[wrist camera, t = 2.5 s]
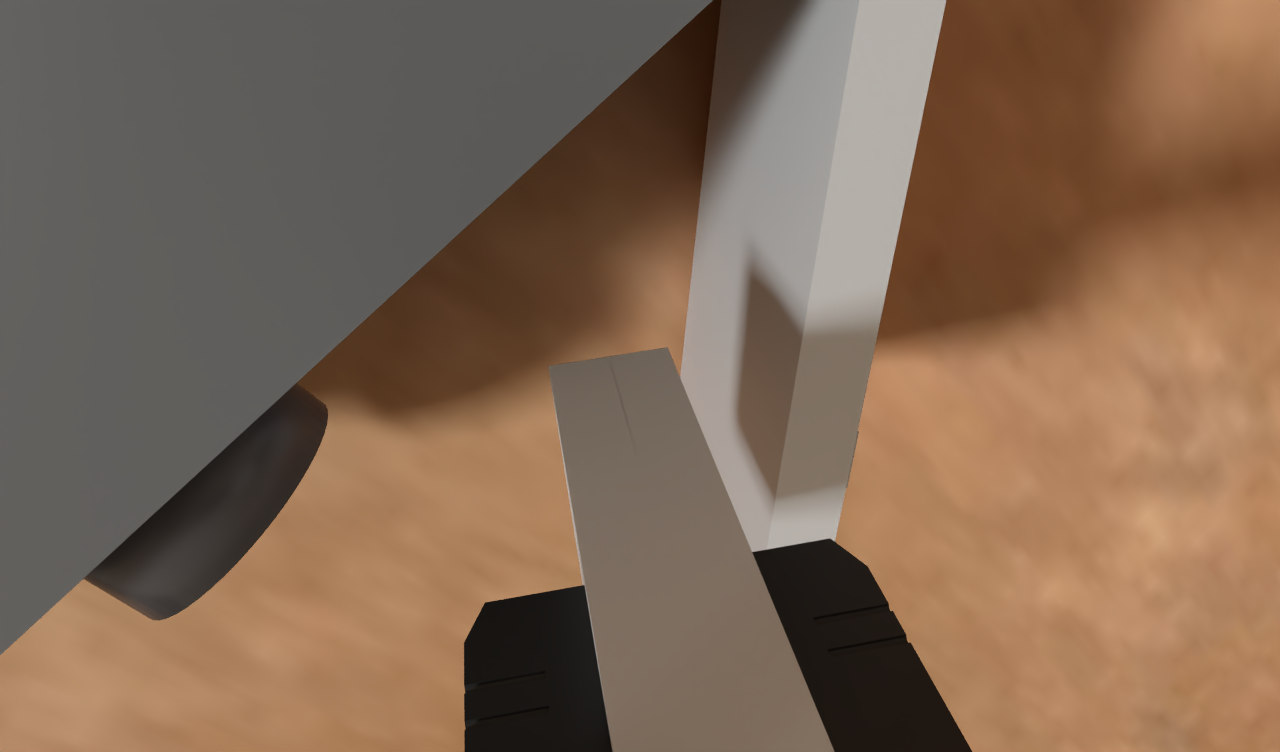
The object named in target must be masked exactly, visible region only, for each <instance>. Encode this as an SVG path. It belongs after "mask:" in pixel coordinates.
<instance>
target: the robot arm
mask: <svg viewBox="0 0 1280 752" xmlns="http://www.w3.org/2000/svg"><path fill="white" fill-rule="evenodd" d="M548 367H549V373H550V380H551V386H552V392H553V399H554V405H555V412H556V418H557V424H558V431H559V437H560V444H561V450H562V456H563V463H564V469H565V476H566V482H567V488H568V495H569V501H570V508H571V514H572V520H573V527H574V533H575V540H576V546H577V552H578V558H579V564H580V570H581V576H582V582H583V585H582V586H577V587H571V588H565V589H560V590H554V591H549V592H543V593H537V594H532V595H526V596H520V597H515V598H509V599H503V600H498V601H492V602H487V603H485V604H484V606H483V608H482V610H481V612H480V613H479V615H478V617H477V619H476V621H475V623H474V625H473V627H472V629H471V631H470V633H469V635H468V636H467V638H466V640H465V642H464V686H465V694H464V709H465V727H466V730H465V752H972V750H971V749H970V747H969V745H968V743H967V742H966V740H965V738H964V736H963V735H962V733H961V731H960V729H959V727H958V726H957V724H956V722H955V720H954V719H953V717H952V715H951V713H950V712H949V710H948V708H947V706H946V704H945V703H944V701H943V699H942V697H941V696H940V694H939V692H938V690H937V689H936V687H935V685H934V683H933V681H932V680H931V678H930V676H929V674H928V673H927V671H926V669H925V667H924V666H923V664H922V662H921V660H920V658H919V657H918V655H917V653H916V651H915V650H914V648H913V646H912V644H911V643H908V642H907V638H906V634H905V632H904V630H903V628H902V627H901V625H900V623H899V621H898V619H897V618H896V616H895V614H894V612H893V611H890V609H889V604H888V602H887V600H886V598H885V596H884V595H883V593H882V591H881V589H880V588H879V586H878V584H877V582H876V581H875V579H874V577H873V575H872V573H871V572H870V570H869V568H868V566H866V565H865V564H864V563H862V562H861V561H860V560H858V559H857V558H856V557H854V556H853V555H852V554H850V553H849V552H848V551H846V550H845V549H844V548H842V547H841V546H840V545H838V544H837V543H836V542H834V541H833V540H832V539H830V538H829V539H823V540H818V541H812V542H806V543H801V544H795V545H790V546H784V547H778V548H773V549H767V550H761V551H756V552H752V551H751V548H750V546H749V543H748V541H747V539H746V536H745V534H744V531H743V529H742V527H741V524H740V522H739V519H738V517H737V514H736V512H735V510H734V507H733V505H732V502H731V500H730V497H729V495H728V493H727V490H726V488H725V485H724V483H723V480H722V478H721V476H720V473H719V471H718V468H717V466H716V464H715V461H714V459H713V456H712V454H711V451H710V449H709V447H708V444H707V442H706V439H705V437H704V434H703V432H702V430H701V427H700V425H699V422H698V420H697V417H696V415H695V413H694V410H693V408H692V405H691V403H690V400H689V398H688V396H687V393H686V391H685V388H684V386H683V384H682V381H681V379H680V376H679V374H678V371H677V369H676V367H675V364H674V362H673V359H672V357H671V354H670V352H669V350H668V347H667V348H660V349H654V350H647V351H641V352H635V353H628V354H622V355H615V356H609V357H603V358H596V359H590V360H584V361H577V362H571V363H564V364H558V365H552V366H548Z"/></svg>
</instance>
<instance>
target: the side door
mask: <svg viewBox="0 0 1280 752" xmlns="http://www.w3.org/2000/svg"><path fill="white" fill-rule="evenodd" d="M945 4H946V0H722V2H721V11H720V20H719V29H718V38H717V47H716V57H715V66H714V75H713V84H712V93H711V102H710V111H709V120H708V129H707V139H706V148H705V157H704V166H703V175H702V184H701V193H700V202H699V212H698V221H697V230H696V239H695V248H694V257H693V266H692V275H691V284H690V294H689V303H688V312H687V321H686V330H685V339H684V348H683V357H682V366H681V376H680V379H681V381H682V384H683V386H684V388H685V391H686V393H687V396H688V398H689V400H690V403H691V405H692V408H693V410H694V413H695V415H696V417H697V420H698V422H699V425H700V427H701V430H702V432H703V434H704V437H705V439H706V442H707V444H708V447H709V449H710V451H711V454H712V456H713V459H714V461H715V464H716V466H717V468H718V471H719V473H720V476H721V478H722V480H723V483H724V485H725V488H726V490H727V493H728V495H729V497H730V500H731V502H732V505H733V507H734V510H735V512H736V514H737V517H738V519H739V522H740V524H741V527H742V529H743V531H744V534H745V536H746V539H747V541H748V543H749V546H750V548H751V551H752V552H756V551H761V550H767V549H773V548H778V547H784V546H790V545H795V544H801V543H806V542H812V541H818V540H823V539H829V538H830V539H832V540H833V541H834V542H835V538H836V534H837V529H838V524H839V519H840V514H841V509H842V504H843V500H844V495H845V490H846V488H847V486H848V481H849V476H850V472H851V467H852V462H853V457H854V452H855V447H856V443H857V438H858V433H859V432H858V427H859V422H860V417H861V412H862V407H863V402H864V398H865V393H866V388H867V383H868V378H869V373H870V369H871V364H872V359H873V354H874V349H875V344H876V339H877V335H878V330H879V325H880V320H881V315H882V310H883V305H884V301H885V296H886V291H887V286H888V281H889V276H890V271H891V267H892V262H893V257H894V252H895V247H896V242H897V237H898V233H899V228H900V223H901V218H902V213H903V208H904V203H905V199H906V194H907V189H908V184H909V179H910V174H911V169H912V165H913V160H914V155H915V150H916V145H917V140H918V135H919V131H920V126H921V121H922V116H923V111H924V106H925V101H926V97H927V92H928V87H929V82H930V77H931V72H932V67H933V63H934V58H935V53H936V48H937V43H938V38H939V33H940V29H941V24H942V19H943V14H944V9H945Z"/></svg>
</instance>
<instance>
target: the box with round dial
mask: <svg viewBox="0 0 1280 752" xmlns="http://www.w3.org/2000/svg"><path fill="white" fill-rule="evenodd" d="M712 1H713V0H0V655H1V654H2V653H3V652H4V651H5V650H6V649H7V648H8V647H9V646H11V645H12V644H13V643H14V642H15V641H16V640H17V639H18V638H19V637H20V636H21V635H23V634H24V633H25V632H26V631H27V630H28V629H29V628H30V627H31V626H32V625H33V624H34V623H36V622H37V621H38V620H39V619H40V618H41V617H42V616H43V615H44V614H45V613H46V612H48V611H49V610H50V609H51V608H52V607H53V606H54V605H55V604H56V603H57V602H58V601H60V600H61V599H62V598H63V597H64V596H65V595H66V594H67V593H68V592H69V591H70V590H71V589H73V588H74V587H75V586H76V585H77V584H78V583H79V582H80V581H81V580H82V579H85V580H86V581H88V582H90V583H91V584H93V585H95V586H96V587H98V588H100V589H101V590H103V591H105V592H106V593H108V594H110V595H111V596H113V597H115V598H116V599H118V600H120V601H122V602H123V603H125V604H127V605H128V606H130V607H132V608H133V609H135V610H137V611H138V612H140V613H142V614H143V615H145V616H147V617H148V618H150V619H152V620H162V619H166V618H169V617H171V616H173V615H175V614H177V613H179V612H180V611H182V610H183V609H185V608H187V607H188V606H189V605H191V604H192V603H194V602H195V601H196V600H198V599H199V598H200V597H201V596H202V595H204V594H205V593H206V592H207V591H208V590H210V589H211V588H212V587H213V586H214V585H215V584H216V583H217V582H218V581H219V580H221V579H222V578H223V577H224V576H225V575H226V574H227V573H228V572H229V571H230V570H231V569H232V568H233V567H234V566H235V565H236V564H237V563H238V561H239V560H240V559H241V558H242V557H243V556H244V555H245V554H246V553H247V552H248V550H249V549H250V548H251V547H252V546H253V545H254V543H255V542H256V541H257V540H258V539H259V538H260V536H261V535H262V534H263V533H264V532H265V530H266V529H267V528H268V526H269V525H270V524H271V523H272V521H273V520H274V519H275V518H276V516H277V515H278V513H279V512H280V511H281V509H282V508H283V507H284V505H285V504H286V502H287V501H288V500H289V498H290V497H291V495H292V494H293V492H294V491H295V489H296V488H297V486H298V484H299V483H300V481H301V479H302V478H303V476H304V475H305V473H306V471H307V469H308V468H309V466H310V464H311V462H312V460H313V458H314V456H315V454H316V452H317V450H318V448H319V446H320V444H321V441H322V438H323V436H324V433H325V429H326V426H327V420H328V410H327V407H326V405H325V404H323V403H322V402H321V401H320V400H318V399H317V398H316V397H314V396H313V395H312V394H311V393H309V392H308V391H307V390H305V389H304V388H303V387H302V386H300V385H299V384H298V383H297V382H298V381H299V380H300V379H301V378H302V377H303V376H304V375H306V374H307V373H308V372H309V371H310V370H311V369H312V368H313V367H314V366H315V365H316V364H318V363H319V362H320V361H321V360H322V359H323V358H324V357H325V356H326V355H327V354H328V353H330V352H331V351H332V350H333V349H334V348H335V347H336V346H337V345H338V344H339V343H340V342H341V341H343V340H344V339H345V338H346V337H347V336H348V335H349V334H350V333H351V332H352V331H353V330H355V329H356V328H357V327H358V326H359V325H360V324H361V323H362V322H363V321H364V320H365V319H367V318H368V317H369V316H370V315H371V314H372V313H373V312H374V311H375V310H376V309H377V308H379V307H380V306H381V305H382V304H383V303H384V302H385V301H386V300H387V299H388V298H389V297H390V296H392V295H393V294H394V293H395V292H396V291H397V290H398V289H399V288H400V287H401V286H402V285H404V284H405V283H406V282H407V281H408V280H409V279H410V278H411V277H412V276H413V275H414V274H416V273H417V272H418V271H419V270H420V269H421V268H422V267H423V266H424V265H425V264H426V263H427V262H429V261H430V260H431V259H432V258H433V257H434V256H435V255H436V254H437V253H438V252H439V251H441V250H442V249H443V248H444V247H445V246H446V245H447V244H448V243H449V242H450V241H451V240H453V239H454V238H455V237H456V236H457V235H458V234H459V233H460V232H461V231H462V230H463V229H465V228H466V227H467V226H468V225H469V224H470V223H471V222H472V221H473V220H474V219H475V218H476V217H478V216H479V215H480V214H481V213H482V212H483V211H484V210H485V209H486V208H487V207H488V206H490V205H491V204H492V203H493V202H494V201H495V200H496V199H497V198H498V197H499V196H500V195H502V194H503V193H504V192H505V191H506V190H507V189H508V188H509V187H510V186H511V185H512V184H514V183H515V182H516V181H517V180H518V179H519V178H520V177H521V176H522V175H523V174H524V173H525V172H527V171H528V170H529V169H530V168H531V167H532V166H533V165H534V164H535V163H536V162H537V161H539V160H540V159H541V158H542V157H543V156H544V155H545V154H546V153H547V152H548V151H549V150H551V149H552V148H553V147H554V146H555V145H556V144H557V143H558V142H559V141H560V140H561V139H562V138H564V137H565V136H566V135H567V134H568V133H569V132H570V131H571V130H572V129H573V128H574V127H576V126H577V125H578V124H579V123H580V122H581V121H582V120H583V119H584V118H585V117H586V116H588V115H589V114H590V113H591V112H592V111H593V110H594V109H595V108H596V107H597V106H598V105H600V104H601V103H602V102H603V101H604V100H605V99H606V98H607V97H608V96H609V95H610V94H611V93H613V92H614V91H615V90H616V89H617V88H618V87H619V86H620V85H621V84H622V83H623V82H625V81H626V80H627V79H628V78H629V77H630V76H631V75H632V74H633V73H634V72H635V71H637V70H638V69H639V68H640V67H641V66H642V65H643V64H644V63H645V62H646V61H647V60H649V59H650V58H651V57H652V56H653V55H654V54H655V53H656V52H657V51H658V50H659V49H660V48H662V47H663V46H664V45H665V44H666V43H667V42H668V41H669V40H670V39H671V38H672V37H674V36H675V35H676V34H677V33H678V32H679V31H680V30H681V29H682V28H683V27H684V26H686V25H687V24H688V23H689V22H690V21H691V20H692V19H693V18H694V17H695V16H696V15H697V14H699V13H700V12H701V11H702V10H703V9H704V8H705V7H706V6H707V5H708V4H709V3H711V2H712Z"/></svg>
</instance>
